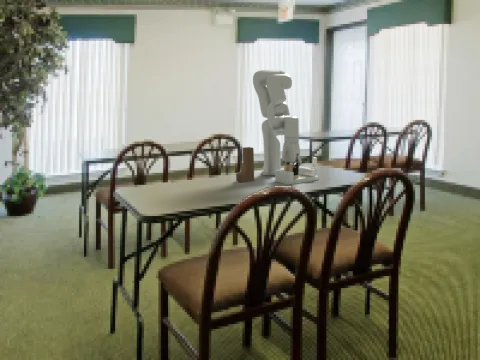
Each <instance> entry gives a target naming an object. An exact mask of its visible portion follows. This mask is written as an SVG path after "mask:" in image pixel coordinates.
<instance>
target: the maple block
mask: <svg viewBox="0 0 480 360" xmlns="http://www.w3.org/2000/svg"><path fill="white" fill-rule="evenodd" d="M295 165H296V163H295ZM293 168H294V166H293V163H290V164H285V165H284V164H283V170H284V171H289V172H293ZM294 178H299V168H298V175H294Z"/></svg>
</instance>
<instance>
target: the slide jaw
mask: <svg viewBox="0 0 480 360" xmlns="http://www.w3.org/2000/svg"><path fill="white" fill-rule="evenodd" d="M317 173H318V157H312V158H311V167H306V166H299V174H301V175H306V176H311V177H313V176H317Z"/></svg>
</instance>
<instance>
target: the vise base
mask: <svg viewBox="0 0 480 360" xmlns="http://www.w3.org/2000/svg"><path fill="white" fill-rule="evenodd" d="M274 177H275V178H274V180H275V182H277V183H282V184H286V185H294V184H301V183H306V182H307V183H308V182H314V181H319V179H320V176H319V175H316V176H313V177H311V176H306V175H301V174H299V178H294V172H289V171H284V169H281V170H275V175H274Z"/></svg>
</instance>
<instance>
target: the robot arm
mask: <svg viewBox="0 0 480 360" xmlns="http://www.w3.org/2000/svg"><path fill="white" fill-rule="evenodd" d="M252 85H253V88H254V90H255V93H256V96H257V98H258V104H259V109H260V113H261V115H262V118H265V120H264V121H263V122H262V123H261V132H262V137H263V166H262V167H261V169H263V170H262V171H261V175H263V176H274V177H275V170H282V169H281V164H282V163H281V160H282V162H283V166H284V165H285V164H293V166H294V168H293V172H294V175H298V168H299V167H301V166H300V165H301V164H302V162H303V161H302V159H301V149H300V141H299V138H300V135H299V134H300V132H299V129H300V128H299V120H300V119H299V117H297V116H293V115H291V113H290V109H289V106H288V104H287V102H286V100H287V95H286V92H285V90H290V89H291V88H292V85H293V80H292V77H291V76H290V75H289V74H288V73H287V72H284V71H283V70H280V69H271V70H270V69H262V70H257V71H255V72H254V74H253V77H252ZM277 136H278V137H279V136H284V137H283V139H284V141H283V145H282V154H281V142H280V140H279V138H278V137H277ZM281 155H282V156H281ZM281 157H282V158H281ZM295 164H296V165H295Z"/></svg>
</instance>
